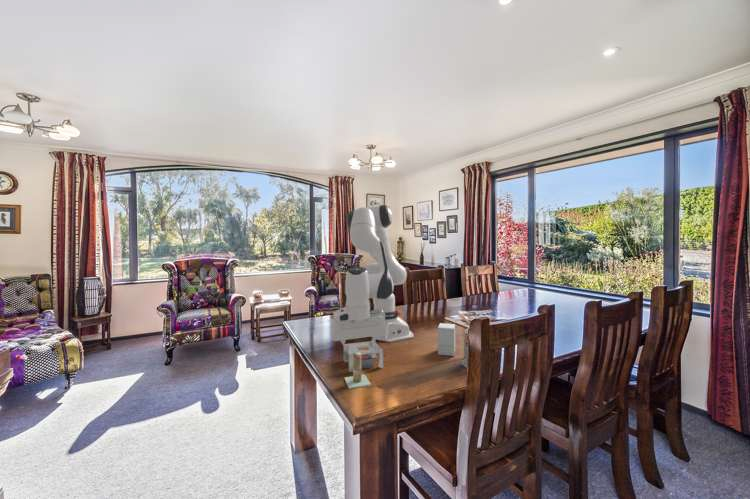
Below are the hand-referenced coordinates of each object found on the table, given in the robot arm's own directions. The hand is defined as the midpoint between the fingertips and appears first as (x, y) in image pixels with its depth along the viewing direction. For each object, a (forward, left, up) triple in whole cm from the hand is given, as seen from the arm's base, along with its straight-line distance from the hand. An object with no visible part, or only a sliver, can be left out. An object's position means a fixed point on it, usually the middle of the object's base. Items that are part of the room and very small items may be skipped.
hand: (359, 349), depth 117 cm
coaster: (+1, 0, -12) cm, 12 cm away
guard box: (-5, -15, -12) cm, 20 cm away
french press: (-49, -2, -13) cm, 51 cm away
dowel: (+1, 0, -12) cm, 12 cm away
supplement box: (-45, -16, -13) cm, 50 cm away
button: (-5, -14, -12) cm, 19 cm away
